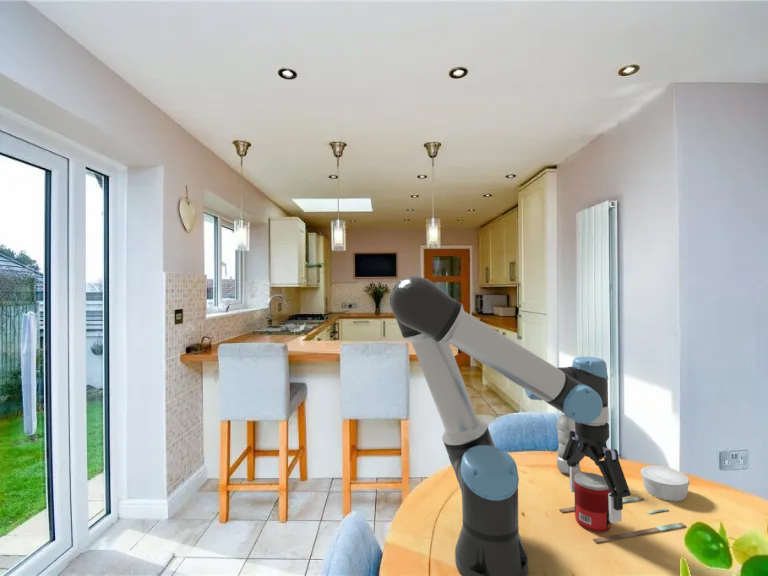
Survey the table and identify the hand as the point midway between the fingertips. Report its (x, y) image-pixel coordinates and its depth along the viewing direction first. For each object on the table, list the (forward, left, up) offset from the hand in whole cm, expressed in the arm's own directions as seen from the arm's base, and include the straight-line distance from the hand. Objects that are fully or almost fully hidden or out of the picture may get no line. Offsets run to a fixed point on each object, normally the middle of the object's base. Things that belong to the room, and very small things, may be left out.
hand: (594, 505), depth 99 cm
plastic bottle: (+11, +24, -5) cm, 27 cm away
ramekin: (+29, +7, -5) cm, 30 cm away
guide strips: (+8, 0, -5) cm, 9 cm away
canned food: (0, 0, -5) cm, 5 cm away
